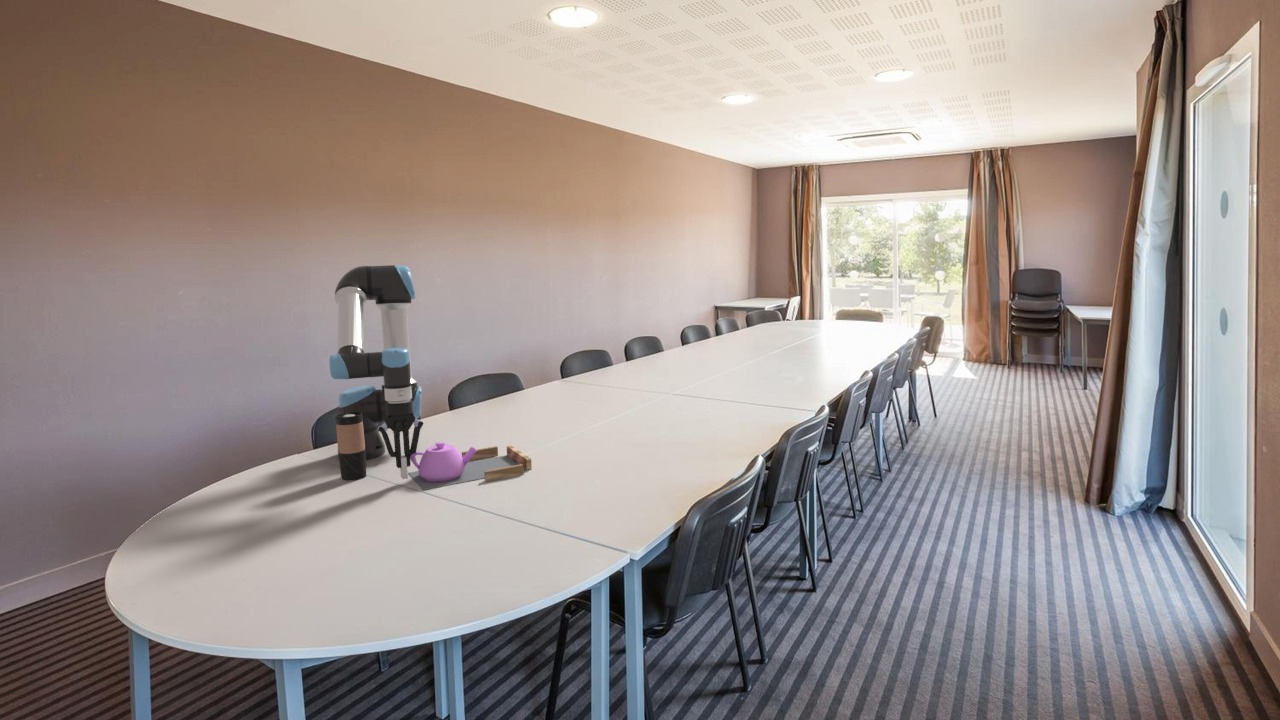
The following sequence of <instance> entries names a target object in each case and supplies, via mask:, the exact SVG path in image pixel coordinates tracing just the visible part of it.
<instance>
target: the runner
mask: <svg viewBox="0 0 1280 720" xmlns="http://www.w3.org/2000/svg"><path fill="white" fill-rule="evenodd" d="M514 465H520V464H519V463H517V462H516V461H515V460H513V459H512V458H510V457H509V456H508V455H507V454H506V455H500V456H493V457H487V458H482V459H476V460H471V461H469V462H468V463H467V464H466V465H465V470H464V472H463V473H462V474H461V475H460V476H459V477H458V478H456V479H453V480H449V481H443V482H430V481H426V480H424V479H423V478H422V477H421V476H420V475H419V472H418V470H417V471H411V472H408V475H409V476H410V477H411V478H412V480H414V482H415V483H416V485H417V486H418V487H419V488H420V490H421V491H427V490H432V489H437V488H441V487H447V486H452V485H458V484H462V483H467V482H473V481H479V480H482V479H484V480H485V474H484V471H488V470H493V469H498V468H504V467H509V466H514ZM529 470H531V469H526V468H524V467H523V472H524V471H525V472H526V471H529Z"/></svg>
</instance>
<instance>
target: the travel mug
mask: <svg viewBox="0 0 1280 720" xmlns="http://www.w3.org/2000/svg"><path fill="white" fill-rule="evenodd" d="M335 428H336V429H335V430H336V441H337V455H338V454H339V458H338V461H339V469H340V476H341V480H342V481H346V482H350V481H351V482H352V481H353V482H354V481H359V480H361V479H364V478H366V477H367V459H366V453H365V440H364V429H363V418H362V413H361V412H350V413H349V414H343V413H340V412H339V413H337V414H336V415H335Z"/></svg>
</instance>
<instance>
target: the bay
mask: <svg viewBox="0 0 1280 720" xmlns="http://www.w3.org/2000/svg"><path fill="white" fill-rule="evenodd" d="M498 449H499V447H498V446H497V445H495V446H490V447H484V448H477V449H476V450H477V451H476V453H475V454H474V455H473V456H472V458H471V459H470V460H469V462H471V461H476V460H482V459H488V458H493V457H499V451H498ZM467 452H468V450H465V451H461V456H462V458H463V457H464V456H465V454H466V453H467ZM506 455H508V456H509V457H510V458H512V459H513V460H515V461H516V462H517V463H519V464H520V465H514V466H509V467H504V468H498V469H493V470H488V471H484V474H485V478H484V481H485V482H486V483H488V482H492V481H493V482H494V481H496V480H502V479H507V478H511V477H517V476H522V475H524V471H523V467H524V468H526V469H530V470H532V466H533V465H532V458H531V457H529V456H528V455H527V454H525V453H523V452H522V451H520V450H519V449H518V448H516V447H514V446H513V445H511V444H510V445H506Z"/></svg>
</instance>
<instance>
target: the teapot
mask: <svg viewBox="0 0 1280 720" xmlns="http://www.w3.org/2000/svg"><path fill="white" fill-rule="evenodd" d="M467 451H468V452H467V453H466V454H465V456H464V457H463V458H462V453H460V451H459V450H458V449H457V448H456V447H455V446H454V445H452V444H449V443H447V444H446V442H445V441H438V442H435V445H431V446H429V447H427V448H426V450H425V451H418V450H416V453H415V454H412V455H411V456H410V462H412V463H411V464H413V465H414V467H416V468H417V471H418V472H419V475H420V476H421V477H422V478H423V479H424V480H426V481H430V482H443V481H449V480H453V479H456V478H458V477H459V476H460V475H461V474H462V473H463V472H464V470H465V465H466V464H467V463H468V462H470V461H471V460H470V459H471V458H472V456H473V455H474V454H475V453H476V451H477V449H476V448H475V447H473V446H470V447H469V448H468V450H467ZM417 455H418V456H421V458H420V461H419V463H418V461H417V458H416V456H417ZM469 460H470V461H469Z"/></svg>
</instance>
